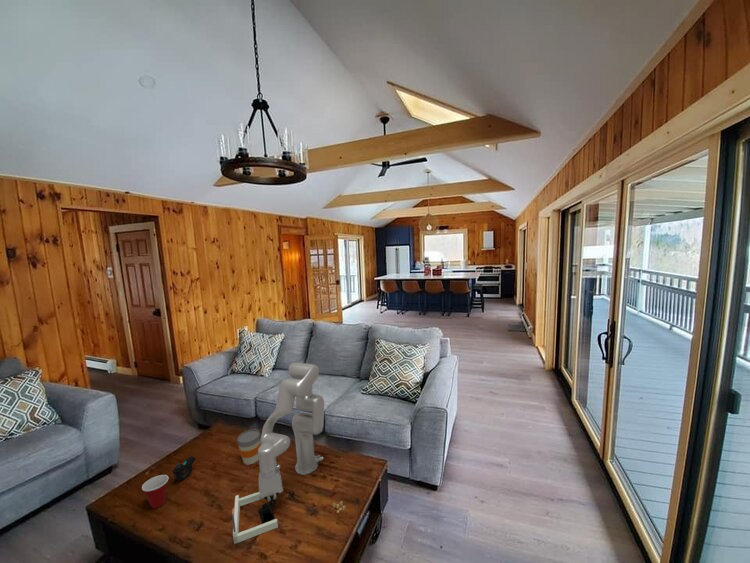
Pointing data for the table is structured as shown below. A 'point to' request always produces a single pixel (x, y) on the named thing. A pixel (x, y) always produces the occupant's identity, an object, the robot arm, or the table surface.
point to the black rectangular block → (266, 513)
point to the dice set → (340, 505)
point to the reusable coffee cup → (249, 446)
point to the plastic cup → (156, 490)
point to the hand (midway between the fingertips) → (272, 505)
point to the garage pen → (252, 531)
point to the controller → (183, 468)
